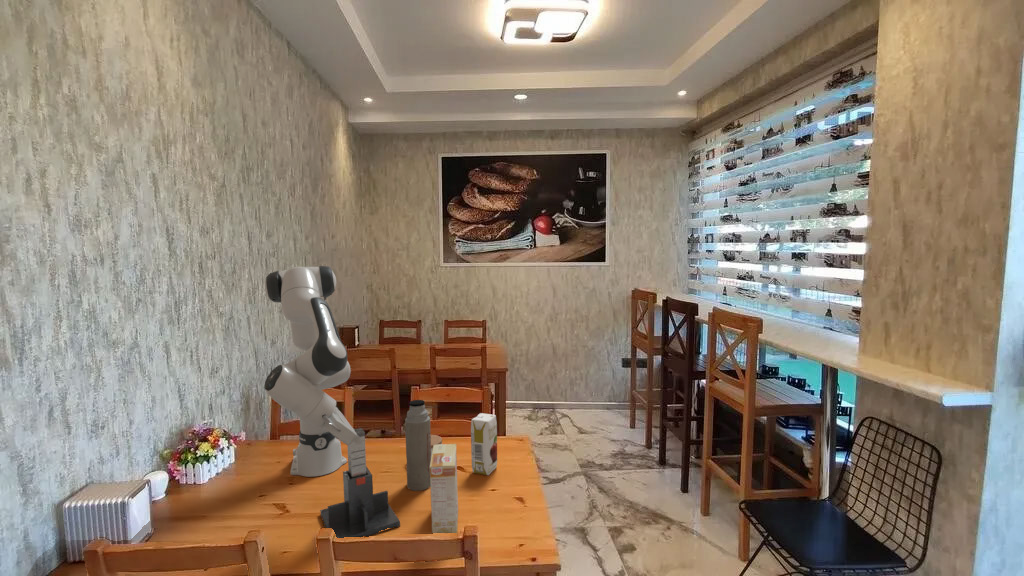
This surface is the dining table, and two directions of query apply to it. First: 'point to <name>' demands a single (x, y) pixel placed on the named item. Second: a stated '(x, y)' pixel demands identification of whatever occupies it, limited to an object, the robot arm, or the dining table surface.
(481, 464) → the juice carton
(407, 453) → the thermos bottle
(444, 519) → the coffeecake box
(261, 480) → the dining table surface
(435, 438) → the lidded jar
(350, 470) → the steel column
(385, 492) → the jack stand
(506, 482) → the dining table surface
